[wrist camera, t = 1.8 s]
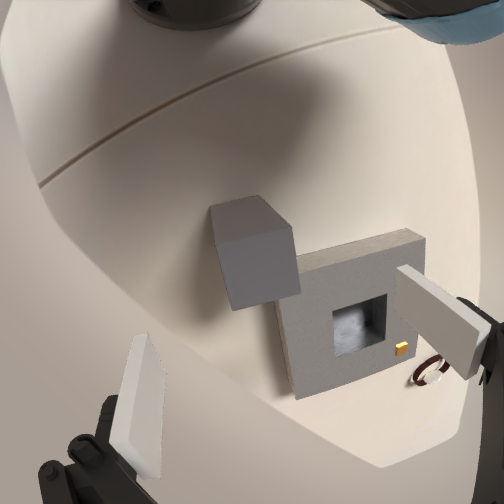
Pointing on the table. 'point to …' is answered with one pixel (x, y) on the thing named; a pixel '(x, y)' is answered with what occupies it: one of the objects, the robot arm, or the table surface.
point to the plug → (254, 252)
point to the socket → (348, 313)
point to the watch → (430, 376)
